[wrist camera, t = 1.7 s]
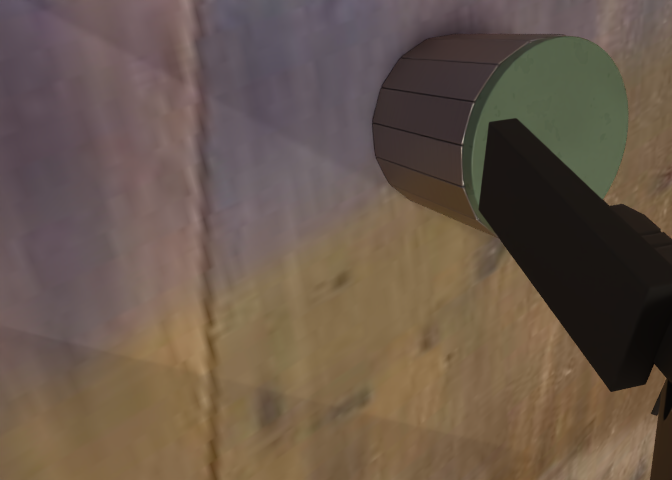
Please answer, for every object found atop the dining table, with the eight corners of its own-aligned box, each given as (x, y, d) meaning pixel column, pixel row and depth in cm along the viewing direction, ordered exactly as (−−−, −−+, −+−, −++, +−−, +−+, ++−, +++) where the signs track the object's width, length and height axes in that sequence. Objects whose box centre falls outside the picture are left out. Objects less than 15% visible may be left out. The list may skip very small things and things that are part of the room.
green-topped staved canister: (365, 48, 36) (468, 53, 28) (509, 24, 41) (636, 22, 32) (381, 221, 41) (474, 270, 32) (509, 182, 45) (622, 217, 37)
